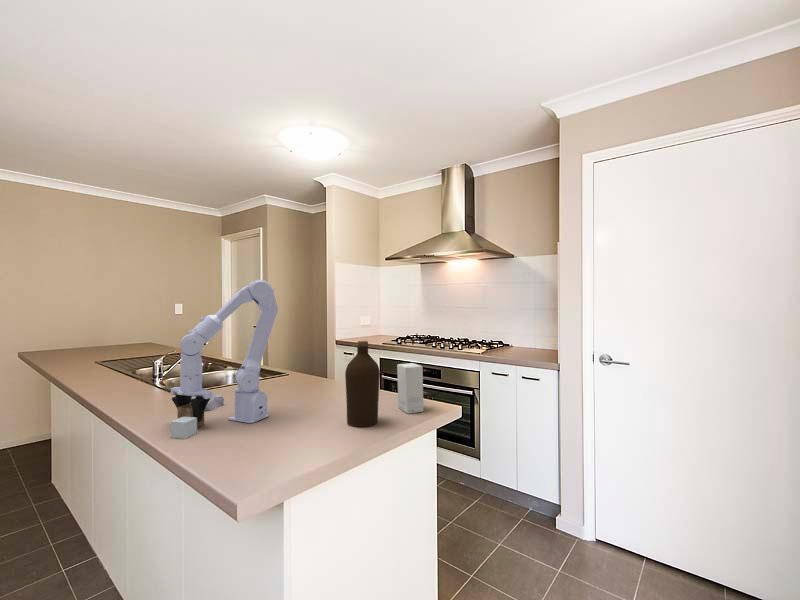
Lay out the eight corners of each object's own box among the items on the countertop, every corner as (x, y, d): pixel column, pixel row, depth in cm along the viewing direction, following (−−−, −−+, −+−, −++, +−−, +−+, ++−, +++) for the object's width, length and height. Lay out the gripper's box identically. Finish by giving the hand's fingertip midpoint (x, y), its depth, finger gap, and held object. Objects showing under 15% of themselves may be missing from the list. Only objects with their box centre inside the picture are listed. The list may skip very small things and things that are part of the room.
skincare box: (423, 412, 130) (424, 366, 129) (405, 414, 127) (405, 367, 127) (413, 405, 137) (414, 362, 137) (396, 407, 135) (396, 363, 135)
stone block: (210, 417, 129) (226, 403, 139) (208, 404, 128) (224, 391, 138) (177, 417, 131) (195, 403, 140) (175, 404, 130) (193, 391, 139)
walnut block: (204, 424, 116) (204, 404, 116) (189, 429, 112) (189, 408, 112) (192, 422, 118) (192, 402, 118) (177, 427, 113) (177, 407, 113)
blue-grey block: (196, 433, 109) (197, 417, 109) (185, 439, 104) (185, 422, 104) (183, 432, 110) (183, 416, 110) (170, 437, 105) (170, 421, 105)
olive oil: (353, 430, 111) (353, 344, 111) (340, 420, 121) (340, 340, 121) (385, 424, 117) (386, 342, 117) (370, 415, 126) (371, 339, 126)
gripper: (161, 375, 114) (161, 421, 114) (197, 379, 108) (197, 427, 108) (182, 371, 120) (182, 414, 120) (217, 374, 115) (217, 420, 115)
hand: (191, 420), depth 115 cm, fingers closed on walnut block, 5 cm apart
